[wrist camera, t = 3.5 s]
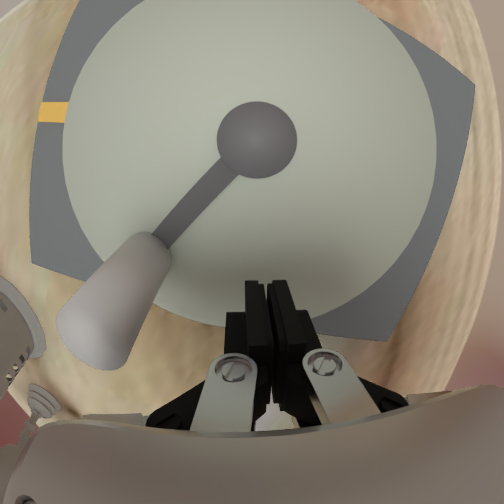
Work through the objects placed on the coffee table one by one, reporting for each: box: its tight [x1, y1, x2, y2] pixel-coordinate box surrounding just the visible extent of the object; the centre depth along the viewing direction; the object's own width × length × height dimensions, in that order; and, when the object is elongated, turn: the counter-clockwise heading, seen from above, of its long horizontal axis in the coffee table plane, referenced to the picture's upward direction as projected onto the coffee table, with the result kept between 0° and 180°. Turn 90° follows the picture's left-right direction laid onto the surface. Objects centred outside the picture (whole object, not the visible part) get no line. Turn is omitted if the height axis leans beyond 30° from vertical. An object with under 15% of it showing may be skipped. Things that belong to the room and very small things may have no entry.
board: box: [29, 0, 475, 342], centre depth 13 cm, size 26×20×2 cm
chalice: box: [0, 384, 61, 504], centre depth 14 cm, size 7×7×18 cm
